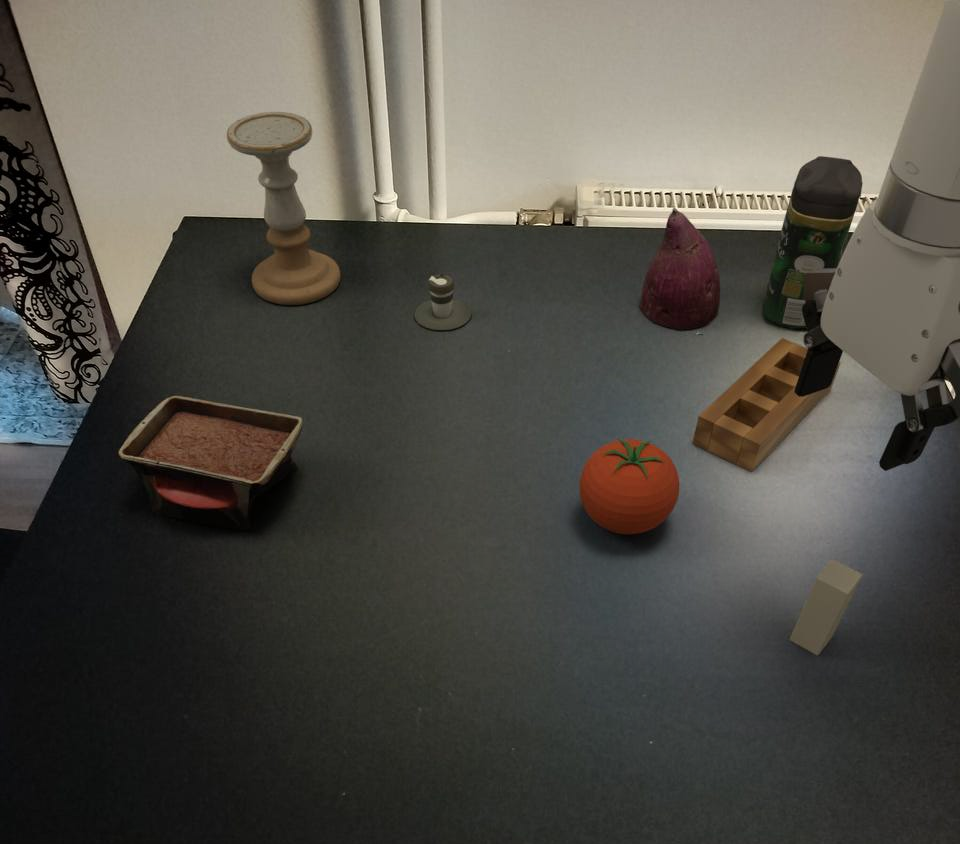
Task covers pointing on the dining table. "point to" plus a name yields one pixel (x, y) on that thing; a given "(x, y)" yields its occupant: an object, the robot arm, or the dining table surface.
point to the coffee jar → (811, 233)
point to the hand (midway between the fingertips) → (852, 425)
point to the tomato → (629, 486)
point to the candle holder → (283, 211)
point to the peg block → (758, 408)
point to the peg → (825, 606)
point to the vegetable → (682, 278)
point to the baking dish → (210, 458)
